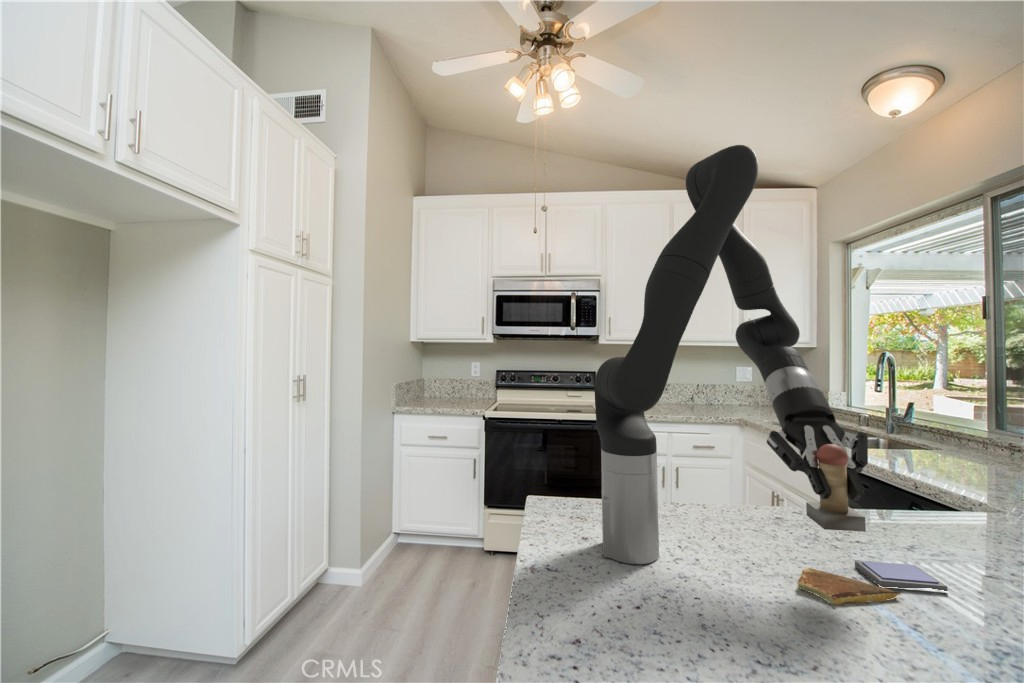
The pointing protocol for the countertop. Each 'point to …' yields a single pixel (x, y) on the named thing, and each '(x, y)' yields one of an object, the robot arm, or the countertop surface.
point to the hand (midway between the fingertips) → (842, 496)
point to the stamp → (835, 494)
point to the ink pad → (898, 575)
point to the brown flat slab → (842, 588)
